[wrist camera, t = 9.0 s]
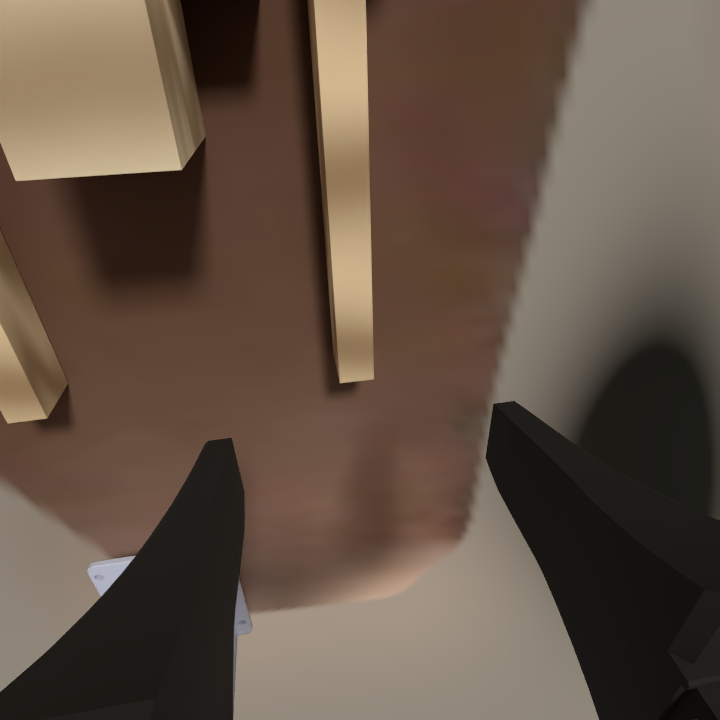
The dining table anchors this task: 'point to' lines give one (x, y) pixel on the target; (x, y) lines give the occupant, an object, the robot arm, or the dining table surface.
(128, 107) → the two-tone t block
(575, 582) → the robot arm
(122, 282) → the dining table surface
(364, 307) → the slot rails
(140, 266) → the dining table surface
